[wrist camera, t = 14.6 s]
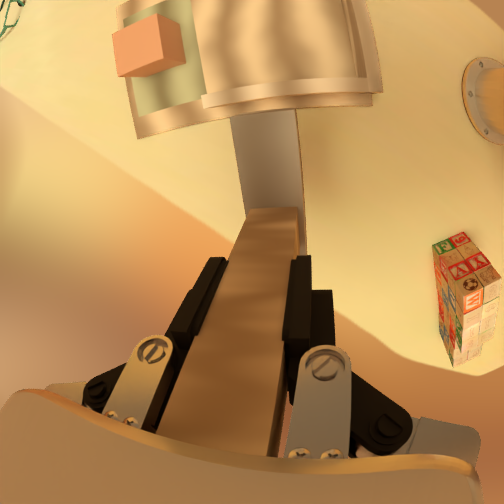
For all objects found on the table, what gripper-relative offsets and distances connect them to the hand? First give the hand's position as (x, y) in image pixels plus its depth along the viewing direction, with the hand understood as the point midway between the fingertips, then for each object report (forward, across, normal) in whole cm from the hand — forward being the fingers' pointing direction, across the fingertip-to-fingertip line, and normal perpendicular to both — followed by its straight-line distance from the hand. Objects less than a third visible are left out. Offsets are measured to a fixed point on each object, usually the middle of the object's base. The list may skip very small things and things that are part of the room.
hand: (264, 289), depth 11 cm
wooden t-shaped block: (+8, 0, 0) cm, 8 cm away
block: (+24, +14, -17) cm, 32 cm away
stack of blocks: (+25, -27, +22) cm, 43 cm away
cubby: (+25, +5, -17) cm, 31 cm away
